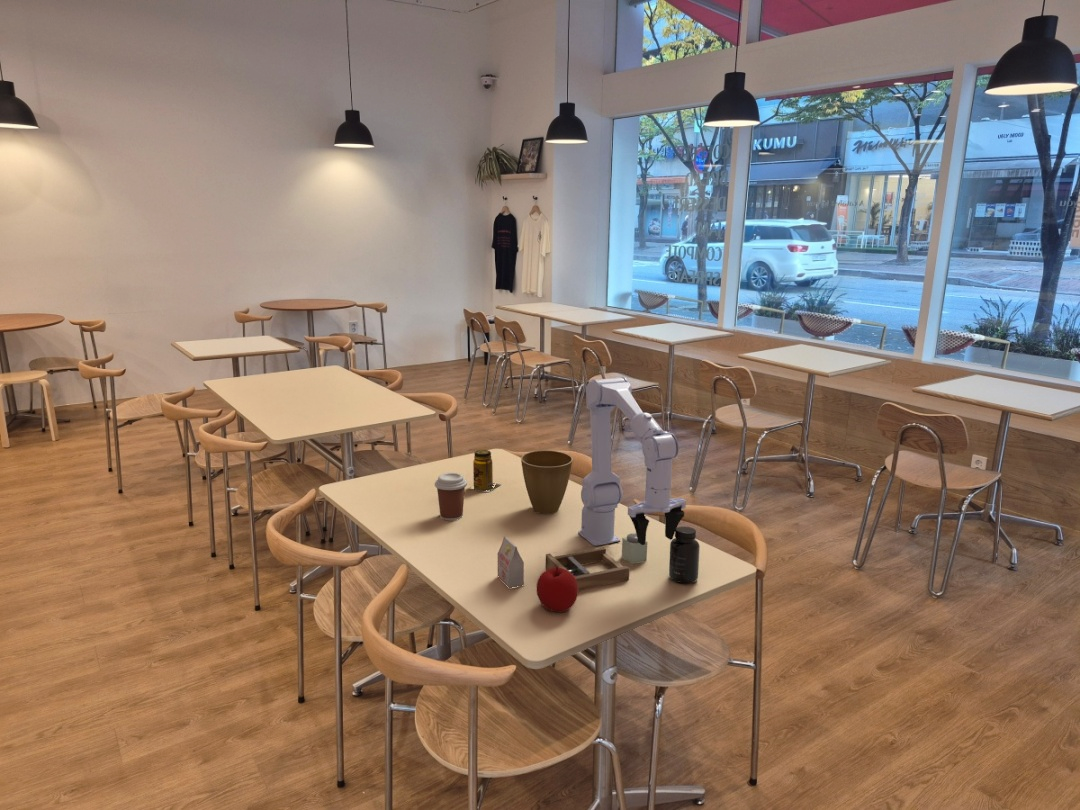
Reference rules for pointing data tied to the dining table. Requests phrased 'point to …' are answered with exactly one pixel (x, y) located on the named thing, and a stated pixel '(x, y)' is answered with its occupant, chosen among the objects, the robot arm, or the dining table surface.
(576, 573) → the pusher plate
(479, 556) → the dining table surface
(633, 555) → the jar
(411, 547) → the dining table surface
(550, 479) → the plant pot
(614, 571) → the brown wooden shallow box
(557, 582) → the apple
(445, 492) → the coffee cup
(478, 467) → the condiment
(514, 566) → the milk carton
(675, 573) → the supplement bottle
